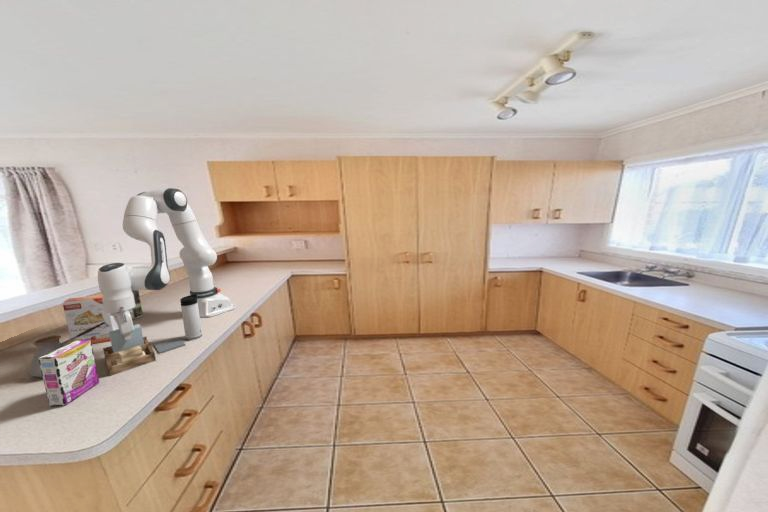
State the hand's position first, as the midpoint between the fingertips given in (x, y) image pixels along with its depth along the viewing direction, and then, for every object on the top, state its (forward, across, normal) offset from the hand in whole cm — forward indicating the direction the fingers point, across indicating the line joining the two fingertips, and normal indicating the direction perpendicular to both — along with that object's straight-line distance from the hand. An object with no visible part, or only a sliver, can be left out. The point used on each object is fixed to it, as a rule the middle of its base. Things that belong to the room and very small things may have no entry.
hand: (126, 337), depth 108 cm
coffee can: (+9, +52, -6) cm, 54 cm away
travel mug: (+9, -1, -22) cm, 24 cm away
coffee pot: (+9, +8, +15) cm, 19 cm away
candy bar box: (+9, -16, +15) cm, 24 cm away
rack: (+9, -4, 0) cm, 9 cm away
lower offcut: (+9, -8, 0) cm, 12 cm away
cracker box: (+9, +28, +8) cm, 31 cm away
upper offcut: (+6, -8, 0) cm, 10 cm away
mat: (+9, -2, -12) cm, 15 cm away
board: (+8, 0, 0) cm, 8 cm away
